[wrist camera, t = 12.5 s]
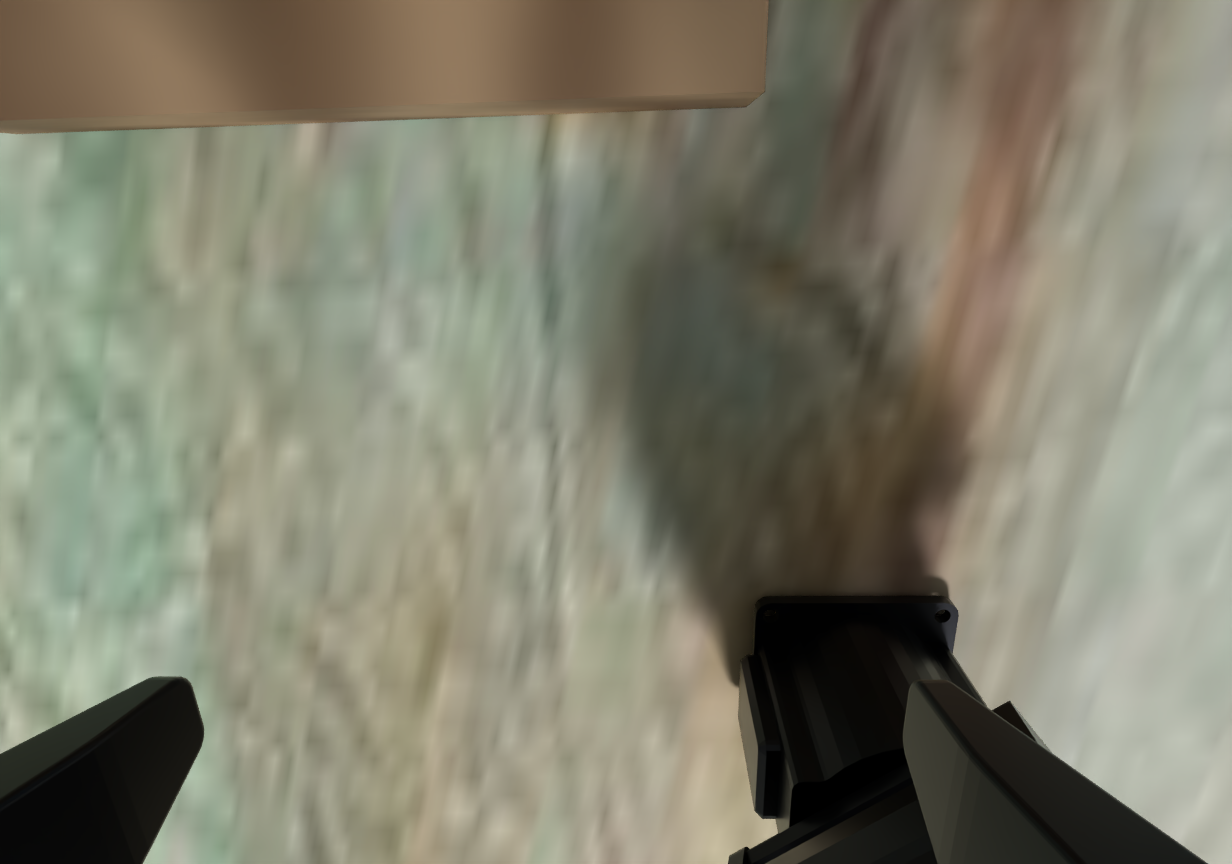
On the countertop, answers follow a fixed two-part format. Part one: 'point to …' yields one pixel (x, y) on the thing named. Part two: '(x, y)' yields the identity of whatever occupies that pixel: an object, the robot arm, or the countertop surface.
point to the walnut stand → (367, 60)
